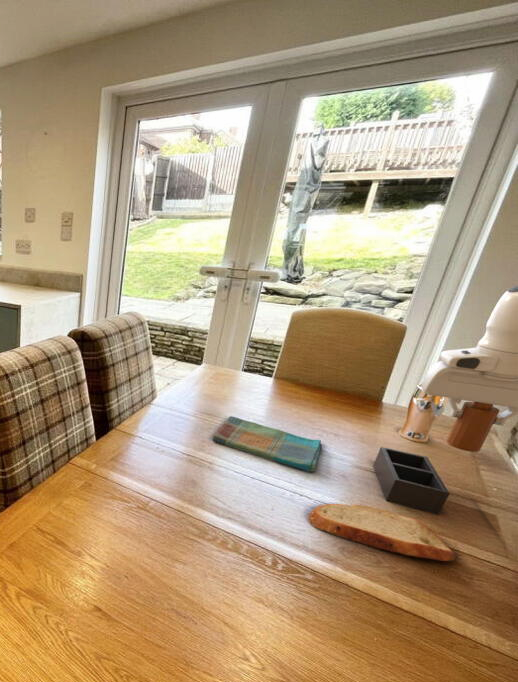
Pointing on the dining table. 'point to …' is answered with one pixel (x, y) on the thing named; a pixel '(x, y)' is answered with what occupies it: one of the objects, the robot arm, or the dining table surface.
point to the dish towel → (269, 443)
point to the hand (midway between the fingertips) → (474, 420)
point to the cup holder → (410, 480)
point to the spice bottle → (472, 426)
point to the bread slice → (381, 530)
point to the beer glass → (422, 415)
